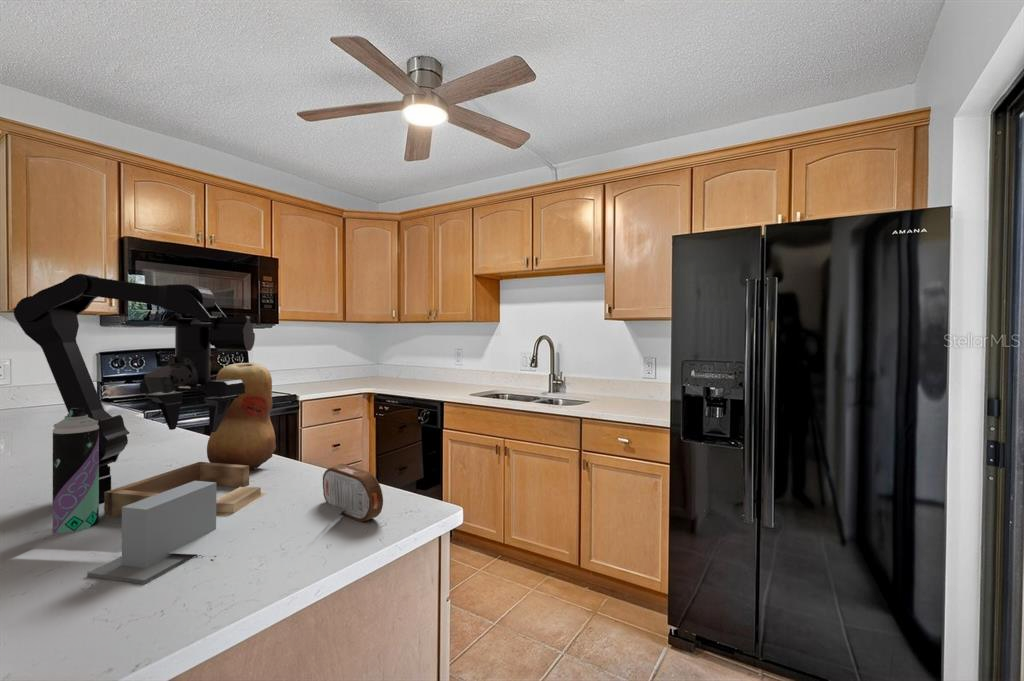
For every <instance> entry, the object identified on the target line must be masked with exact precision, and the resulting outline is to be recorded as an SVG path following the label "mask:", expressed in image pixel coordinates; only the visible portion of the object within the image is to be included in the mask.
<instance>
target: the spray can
mask: <svg viewBox="0 0 1024 681" xmlns="http://www.w3.org/2000/svg"><path fill="white" fill-rule="evenodd" d="M97 424H98V421H97V420H93V419H91V418H89V417H88V415H86V413H84V408H70V409H69V413H67V415H64V417H63V419H61V420H60V421H59V422H57V423H54V424H53V429H52V535H54V534H64V533H65V534H66V533H67V534H68V533H75V532H79V531H84V530H87V529H91V528H92V527H94V526H97V525H98V524H99V522H100V520H99V517H100V515H99V514H100V511H99V510H100V508H99V507H100V504H99V503H100V502H99V426H98V425H97Z"/></svg>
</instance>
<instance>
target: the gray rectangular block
mask: <svg viewBox="0 0 1024 681" xmlns="http://www.w3.org/2000/svg"><path fill="white" fill-rule="evenodd" d="M216 500H217V485H216V482H204V481H193V482H190V483H187V484H184V485H181V486H179V487H176V488H173V489H170V490H168V491H165V492H162V493H159V494H157V495H154V496H151V497H148V498H146V499H143V500H140V501H137V502H135V503H132V504H129V505H126V506H123V507H122V517H121V557H122V565H124V566H132V567H140V568H148V567H150V566H152V565H154V564H156V563H158V562H160V561H162V560H164V559H165V558H167V557H169V556H171V555H173V554H174V553H171V552H173V551H175V550H177V549H179V548H181V547H184V546H185V545H187V544H189V543H191V542H194V541H195V540H197V539H199V538H202V537H203V536H205V535H207V534H209V533H211V532H213V531H215V530H216V529H217V516H216Z"/></svg>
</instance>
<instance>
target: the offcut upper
mask: <svg viewBox="0 0 1024 681" xmlns="http://www.w3.org/2000/svg"><path fill="white" fill-rule="evenodd" d="M261 490H262V488H261V486H260V487H259V486H245V487H236V488H235V489H233V490H231V491H229V492H228V493H226V494H225V495H223V496H221V497H220V498H218V499H217V498H216V513H231V514H234V513H236V512H238V511H239V510H241V509H243V508H245V507H246V506H245V505H247V504H248V503H250V502H251V501H253V500H254V499H256V498H258V497H259V496H261V493H262V492H261ZM244 506H245V507H244ZM247 506H248V505H247ZM242 507H243V508H242Z"/></svg>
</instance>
